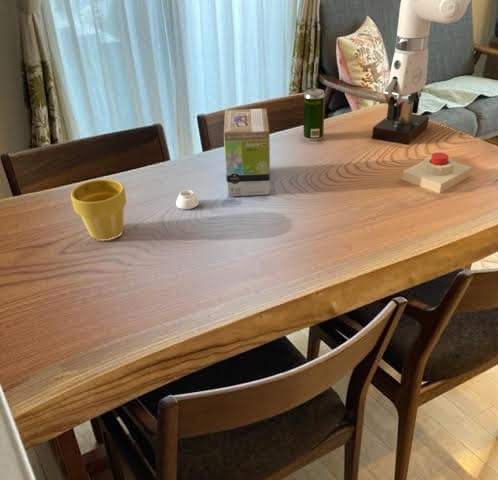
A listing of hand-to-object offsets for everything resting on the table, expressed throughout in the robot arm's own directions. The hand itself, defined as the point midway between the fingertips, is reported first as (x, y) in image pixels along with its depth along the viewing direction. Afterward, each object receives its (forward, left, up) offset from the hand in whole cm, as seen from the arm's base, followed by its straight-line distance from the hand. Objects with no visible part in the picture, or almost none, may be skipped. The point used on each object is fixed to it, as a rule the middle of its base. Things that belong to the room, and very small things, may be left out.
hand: (402, 116), depth 143 cm
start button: (+17, +23, -1) cm, 29 cm away
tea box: (+48, -7, -5) cm, 49 cm away
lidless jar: (+65, -8, -5) cm, 66 cm away
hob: (0, 0, -4) cm, 4 cm away
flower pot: (+84, -10, -5) cm, 85 cm away
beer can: (+18, -15, -5) cm, 24 cm away
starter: (+17, +23, -4) cm, 29 cm away
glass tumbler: (0, 0, -1) cm, 1 cm away
